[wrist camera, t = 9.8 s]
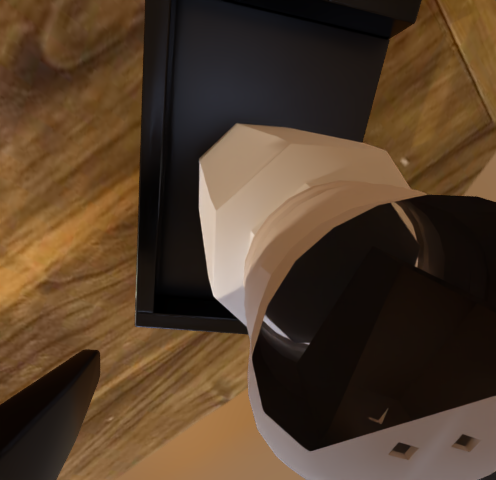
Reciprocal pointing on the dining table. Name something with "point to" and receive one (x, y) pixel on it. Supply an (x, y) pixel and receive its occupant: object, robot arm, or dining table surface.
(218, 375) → the dining table surface
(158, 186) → the black open box
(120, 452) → the dining table surface
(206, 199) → the salt shaker
